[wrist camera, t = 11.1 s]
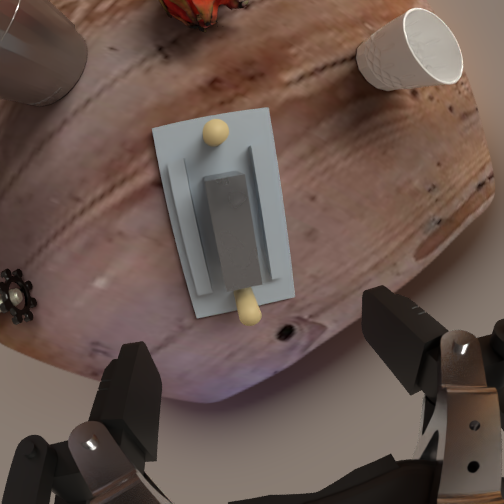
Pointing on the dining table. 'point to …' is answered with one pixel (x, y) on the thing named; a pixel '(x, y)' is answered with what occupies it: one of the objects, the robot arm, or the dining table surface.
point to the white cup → (411, 53)
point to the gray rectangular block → (233, 229)
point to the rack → (198, 213)
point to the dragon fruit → (198, 11)
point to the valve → (16, 296)
